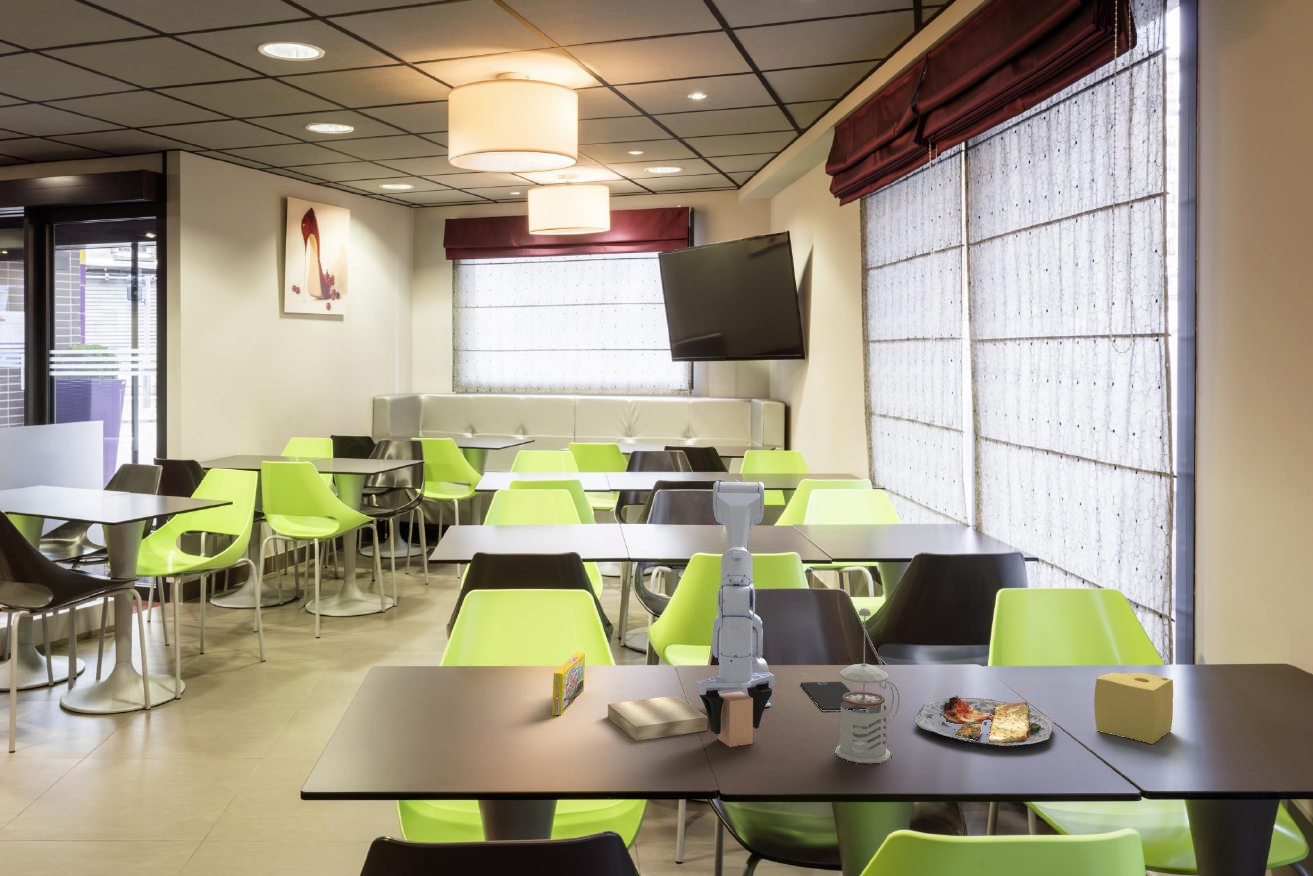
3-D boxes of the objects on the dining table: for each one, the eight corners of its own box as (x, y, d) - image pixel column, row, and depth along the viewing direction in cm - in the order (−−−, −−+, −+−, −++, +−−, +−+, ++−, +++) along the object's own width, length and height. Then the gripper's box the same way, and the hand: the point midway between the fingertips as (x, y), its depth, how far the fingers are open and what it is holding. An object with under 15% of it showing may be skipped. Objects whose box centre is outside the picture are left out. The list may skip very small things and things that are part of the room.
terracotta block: (740, 735, 182) (740, 691, 181) (752, 743, 178) (753, 698, 177) (717, 738, 180) (718, 694, 180) (729, 747, 176) (730, 701, 175)
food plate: (932, 700, 202) (933, 683, 202) (1057, 719, 192) (1058, 700, 192) (904, 743, 180) (905, 723, 179) (1045, 766, 169) (1045, 746, 169)
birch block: (675, 710, 197) (675, 695, 197) (707, 733, 184) (707, 716, 184) (607, 719, 192) (607, 704, 191) (636, 743, 179) (636, 726, 179)
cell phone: (841, 685, 214) (841, 681, 214) (867, 712, 196) (867, 708, 196) (799, 686, 213) (799, 682, 213) (822, 714, 195) (822, 709, 195)
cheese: (1115, 719, 192) (1116, 666, 191) (1175, 732, 184) (1177, 678, 184) (1092, 732, 184) (1093, 677, 184) (1154, 747, 177) (1156, 690, 176)
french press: (822, 747, 175) (824, 604, 174) (879, 739, 180) (881, 599, 179) (854, 767, 166) (856, 616, 165) (913, 758, 171) (915, 611, 170)
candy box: (562, 716, 192) (562, 673, 192) (551, 716, 192) (551, 672, 192) (585, 691, 208) (585, 651, 207) (575, 691, 208) (575, 651, 208)
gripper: (708, 663, 171) (708, 742, 172) (783, 654, 177) (782, 731, 178) (691, 653, 178) (690, 729, 179) (763, 645, 184) (762, 719, 184)
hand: (735, 729), depth 179 cm, fingers open, 7 cm apart
